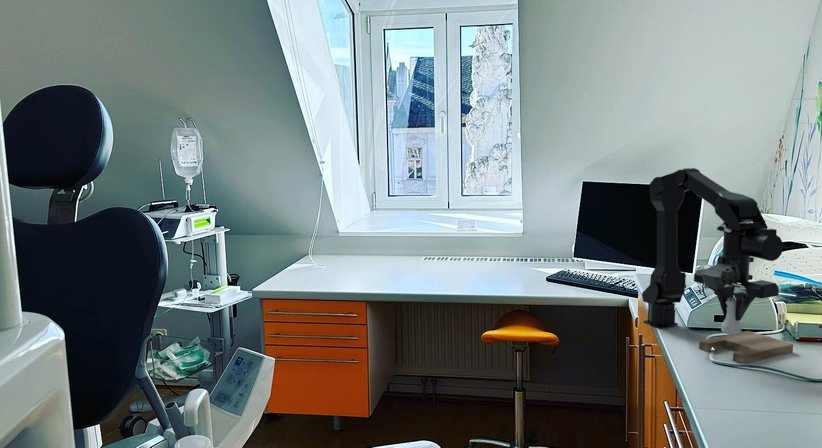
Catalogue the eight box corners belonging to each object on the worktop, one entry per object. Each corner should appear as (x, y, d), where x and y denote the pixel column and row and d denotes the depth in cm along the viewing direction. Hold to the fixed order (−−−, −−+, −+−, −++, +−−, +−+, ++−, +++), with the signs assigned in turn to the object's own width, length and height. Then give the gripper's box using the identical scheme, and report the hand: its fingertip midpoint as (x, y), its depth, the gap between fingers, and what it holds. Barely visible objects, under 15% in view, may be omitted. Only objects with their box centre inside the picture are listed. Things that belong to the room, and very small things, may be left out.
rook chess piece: (735, 329, 162) (738, 296, 161) (745, 335, 157) (747, 301, 156) (717, 329, 162) (719, 296, 160) (726, 335, 157) (728, 301, 156)
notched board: (699, 348, 164) (699, 340, 164) (747, 338, 171) (748, 330, 171) (742, 364, 153) (742, 355, 153) (792, 352, 161) (793, 344, 160)
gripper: (678, 249, 162) (675, 313, 164) (747, 263, 145) (742, 334, 147) (712, 245, 166) (708, 307, 169) (782, 258, 150) (777, 327, 152)
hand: (732, 318), depth 159 cm, fingers closed on rook chess piece, 3 cm apart
